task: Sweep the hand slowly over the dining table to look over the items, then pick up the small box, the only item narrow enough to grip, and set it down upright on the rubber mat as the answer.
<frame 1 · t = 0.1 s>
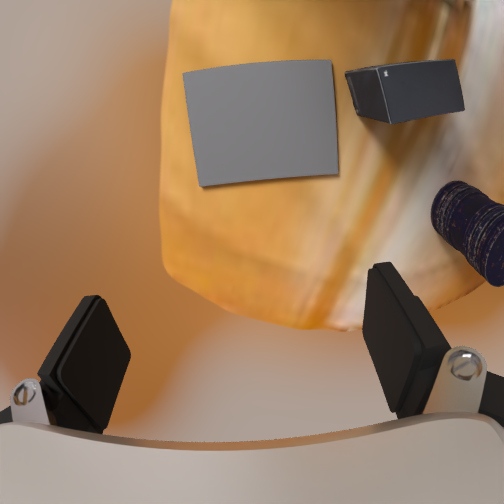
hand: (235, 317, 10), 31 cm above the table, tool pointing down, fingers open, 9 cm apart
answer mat: (263, 120, 36), on the table
storage jar: (453, 208, 41), on the table
small box: (384, 88, 33), on the table
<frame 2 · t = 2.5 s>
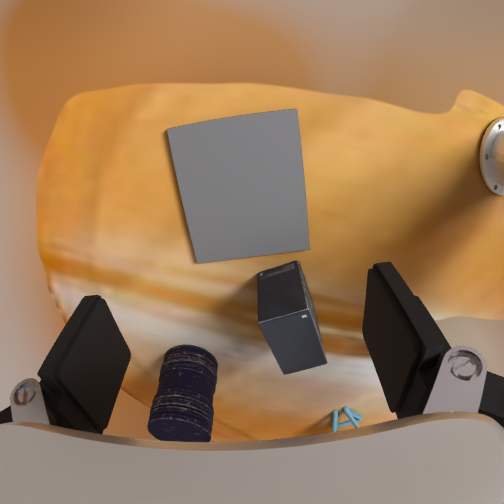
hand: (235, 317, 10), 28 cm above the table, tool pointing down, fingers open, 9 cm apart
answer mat: (242, 189, 37), on the table
chair: (343, 414, 62), on the table
storage jar: (191, 362, 52), on the table
small box: (287, 293, 45), on the table
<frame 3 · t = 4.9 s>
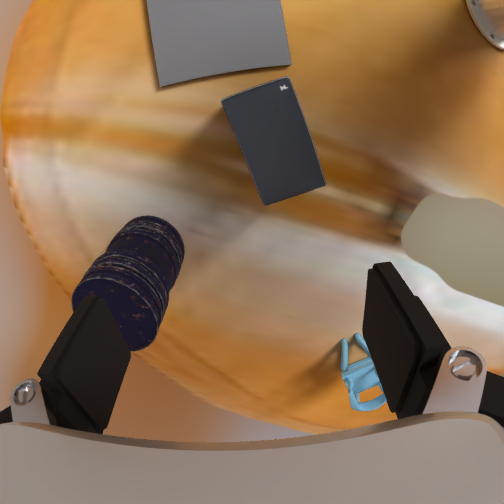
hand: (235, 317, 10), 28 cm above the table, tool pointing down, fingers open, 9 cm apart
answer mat: (213, 5, 26), on the table
chair: (354, 348, 51), on the table
storage jar: (151, 247, 41), on the table
small box: (269, 129, 34), on the table
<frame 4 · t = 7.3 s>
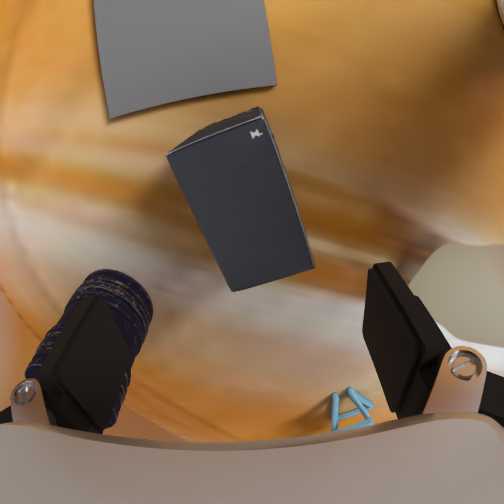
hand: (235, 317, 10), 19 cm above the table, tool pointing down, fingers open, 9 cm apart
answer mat: (176, 8, 20), on the table
chair: (347, 400, 45), on the table
storage jar: (116, 301, 35), on the table
small box: (247, 170, 28), on the table
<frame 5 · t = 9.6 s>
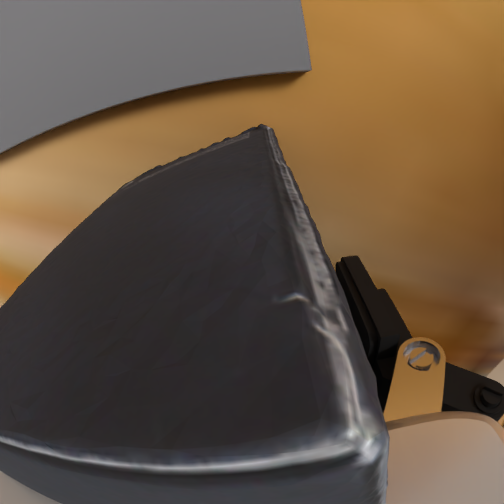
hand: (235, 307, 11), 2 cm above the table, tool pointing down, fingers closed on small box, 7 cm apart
small box: (238, 268, 13), on the table, touching gripper
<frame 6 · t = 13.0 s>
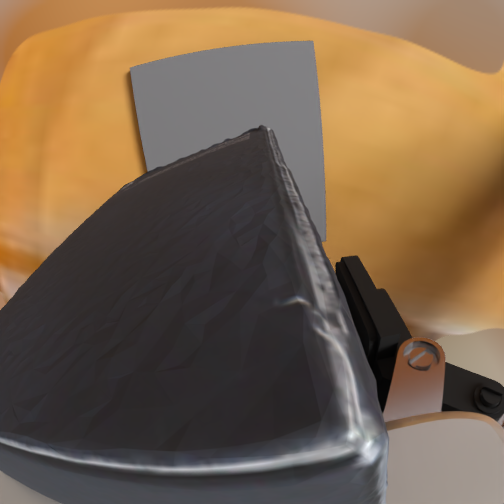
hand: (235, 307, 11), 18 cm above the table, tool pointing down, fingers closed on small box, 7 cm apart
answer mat: (233, 151, 25), on the table
small box: (238, 269, 13), point 15 cm above the table, touching gripper
when the fingers open (5 cm above the table, at t = 16.2 s): small box drops 1 cm, resting on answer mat.
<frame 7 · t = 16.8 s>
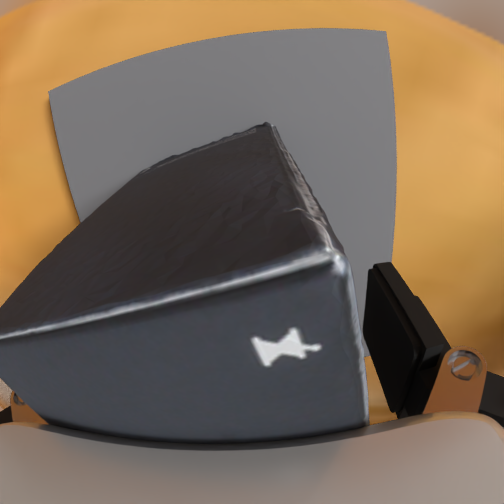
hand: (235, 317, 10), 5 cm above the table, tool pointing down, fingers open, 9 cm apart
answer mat: (238, 235, 15), on the table
small box: (240, 250, 14), point 1 cm above the table, touching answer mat
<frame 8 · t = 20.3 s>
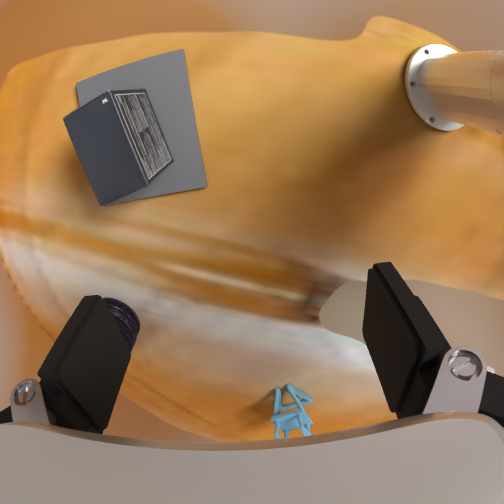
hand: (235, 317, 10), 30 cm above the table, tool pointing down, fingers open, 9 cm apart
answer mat: (138, 130, 35), on the table
chair: (289, 394, 60), on the table
storage jar: (115, 318, 50), on the table
small box: (138, 134, 35), point 1 cm above the table, touching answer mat
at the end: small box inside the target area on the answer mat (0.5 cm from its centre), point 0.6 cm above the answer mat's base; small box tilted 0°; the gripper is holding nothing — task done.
